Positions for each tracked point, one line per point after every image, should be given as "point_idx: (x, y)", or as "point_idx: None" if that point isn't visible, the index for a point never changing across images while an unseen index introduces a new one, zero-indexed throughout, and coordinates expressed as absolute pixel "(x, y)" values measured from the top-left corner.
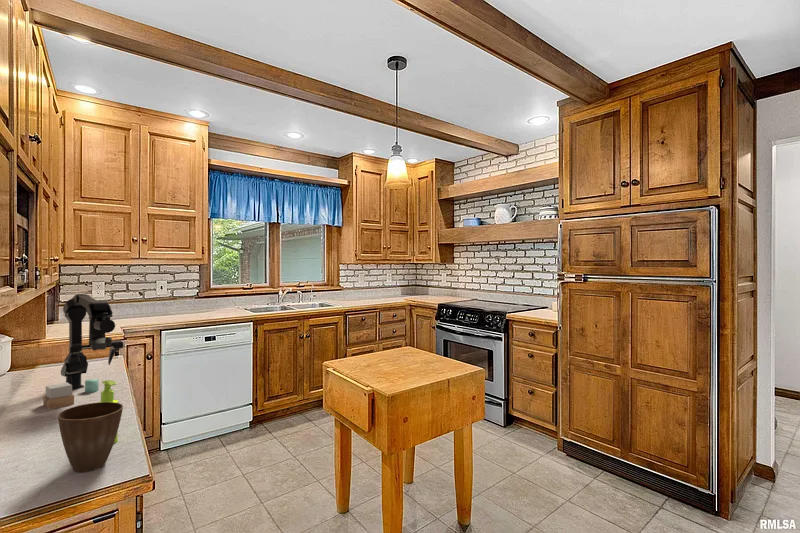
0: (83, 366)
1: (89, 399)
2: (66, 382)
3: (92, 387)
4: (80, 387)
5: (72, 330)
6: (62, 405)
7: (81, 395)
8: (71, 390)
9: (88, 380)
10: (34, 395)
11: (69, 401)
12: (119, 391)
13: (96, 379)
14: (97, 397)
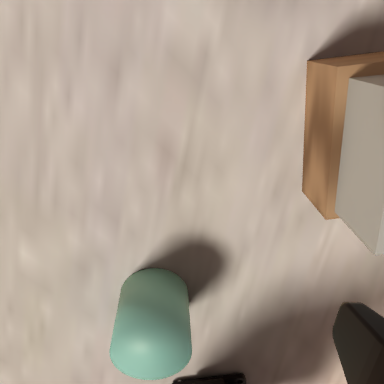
0: (361, 312)
1: (202, 113)
2: (379, 254)
3: (155, 290)
4: (187, 380)
5: None
6: (380, 52)
7: (217, 243)
8: (379, 82)
9: (170, 358)
10: None
11: (347, 59)
12: (7, 188)
13: (122, 356)
14: (151, 129)
